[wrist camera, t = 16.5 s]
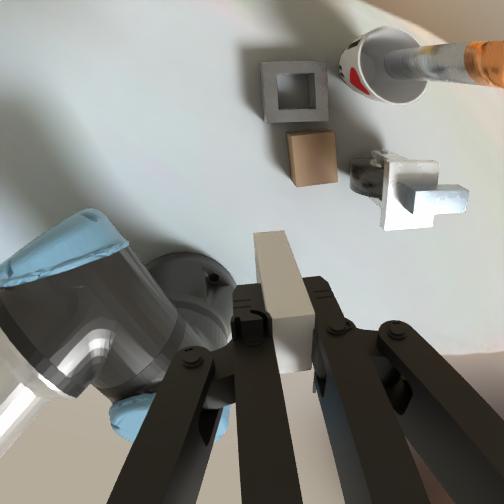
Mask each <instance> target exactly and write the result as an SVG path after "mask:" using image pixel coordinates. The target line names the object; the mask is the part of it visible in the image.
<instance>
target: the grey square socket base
mask: <svg viewBox="0 0 504 504" xmlns="http://www.w3.org/2000/svg"><path fill="white" fill-rule="evenodd" d="M285 74H308V81H309V100H310V108H287V109H279V107H278V91H277V76H276V75H285ZM260 75H261V89H262V104H263V118H264V122H266V123H282V122H310V121H329V111H328V86H327V68H326V61H265V62H261V63H260Z"/></svg>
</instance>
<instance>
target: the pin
mask: <svg viewBox="0 0 504 504" xmlns="http://www.w3.org/2000/svg"><path fill="white" fill-rule="evenodd" d="M384 68H385V71H386V72H387V74H388V75H389V76H390V77H391V78H393V79H395V80H417V81H438V82H453V83H464V84H474V85H483V86H490V87H498V88H504V41H486V42H465V43H451V44H441V45H431V46H423V47H415V48H408V49H401V50H395V51H391V52H389V53H387V54H386V56H385V58H384Z"/></svg>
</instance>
